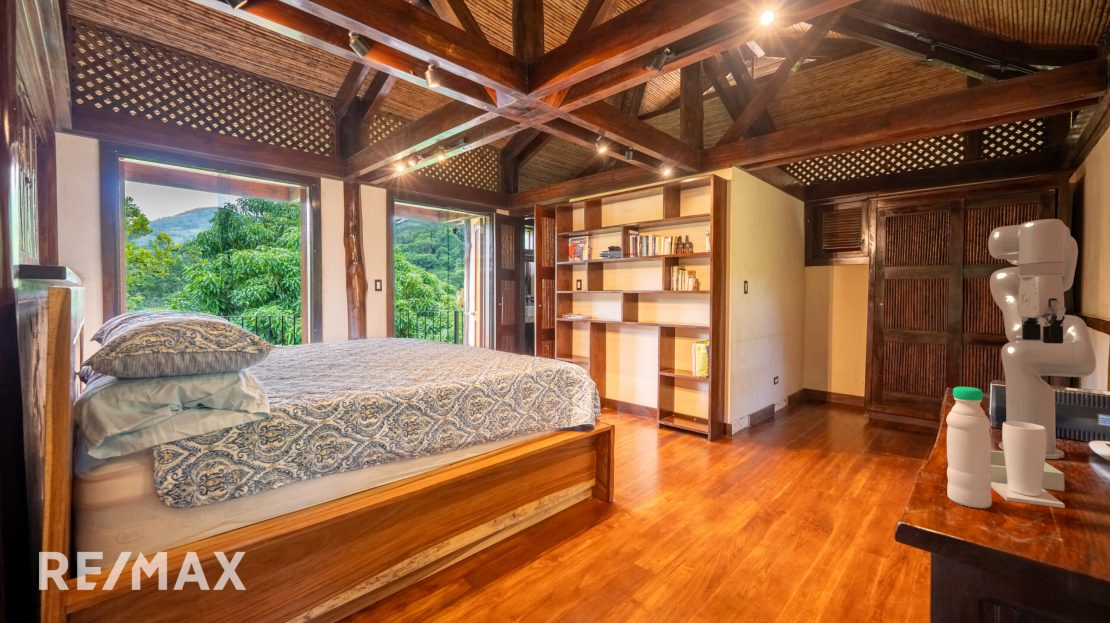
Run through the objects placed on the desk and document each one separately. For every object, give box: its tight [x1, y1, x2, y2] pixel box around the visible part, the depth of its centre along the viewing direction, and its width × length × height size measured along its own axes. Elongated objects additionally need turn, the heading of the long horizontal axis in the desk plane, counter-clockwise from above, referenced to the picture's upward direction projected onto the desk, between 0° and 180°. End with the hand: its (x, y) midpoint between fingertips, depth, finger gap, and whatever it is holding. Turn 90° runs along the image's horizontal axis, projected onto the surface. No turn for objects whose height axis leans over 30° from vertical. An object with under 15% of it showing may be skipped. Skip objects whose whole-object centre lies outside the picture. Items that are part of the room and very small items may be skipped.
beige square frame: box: [990, 449, 1065, 492], centre depth 110 cm, size 14×14×4 cm
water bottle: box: [946, 386, 993, 509], centre depth 96 cm, size 7×7×25 cm
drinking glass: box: [1001, 421, 1046, 496], centre depth 99 cm, size 7×7×15 cm
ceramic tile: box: [990, 482, 1066, 509], centre depth 99 cm, size 9×9×1 cm
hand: (1041, 341), depth 108 cm, fingers open, 9 cm apart
